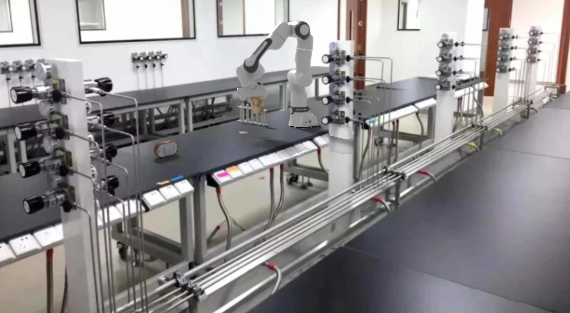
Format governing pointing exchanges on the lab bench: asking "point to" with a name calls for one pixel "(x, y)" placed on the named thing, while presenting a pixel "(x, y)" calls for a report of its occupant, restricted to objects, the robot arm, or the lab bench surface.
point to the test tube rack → (251, 116)
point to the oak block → (257, 105)
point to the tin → (165, 148)
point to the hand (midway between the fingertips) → (257, 103)
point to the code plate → (243, 132)
